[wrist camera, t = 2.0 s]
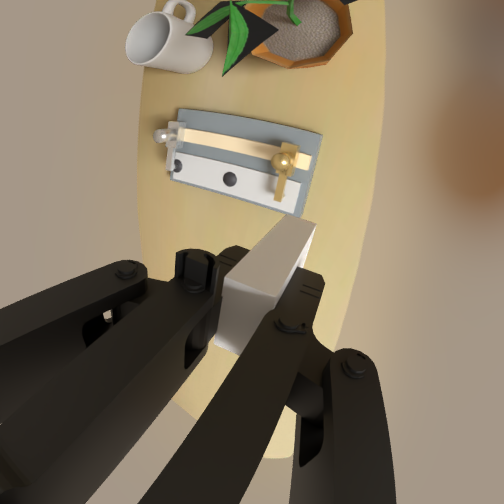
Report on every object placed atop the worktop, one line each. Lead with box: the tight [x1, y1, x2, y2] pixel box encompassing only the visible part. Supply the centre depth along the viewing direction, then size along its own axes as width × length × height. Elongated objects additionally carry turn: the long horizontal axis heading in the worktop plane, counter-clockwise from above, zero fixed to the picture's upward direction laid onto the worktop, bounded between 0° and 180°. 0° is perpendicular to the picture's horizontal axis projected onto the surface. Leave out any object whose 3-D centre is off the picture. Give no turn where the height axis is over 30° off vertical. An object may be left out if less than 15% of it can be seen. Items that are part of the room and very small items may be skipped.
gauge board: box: [170, 109, 323, 218], centre depth 39 cm, size 12×22×3 cm, turn 78°
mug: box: [125, 0, 213, 74], centre depth 29 cm, size 12×8×11 cm
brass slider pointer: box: [271, 142, 301, 202], centre depth 33 cm, size 8×2×5 cm, turn 168°
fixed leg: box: [153, 121, 186, 171], centre depth 37 cm, size 8×2×5 cm, turn 168°
